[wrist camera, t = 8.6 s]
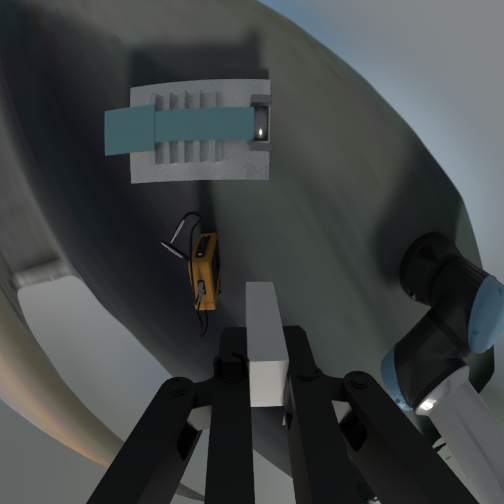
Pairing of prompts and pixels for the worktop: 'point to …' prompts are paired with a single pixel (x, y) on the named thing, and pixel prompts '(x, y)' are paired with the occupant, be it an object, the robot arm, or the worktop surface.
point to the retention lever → (181, 126)
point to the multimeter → (203, 271)
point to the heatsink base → (231, 146)
